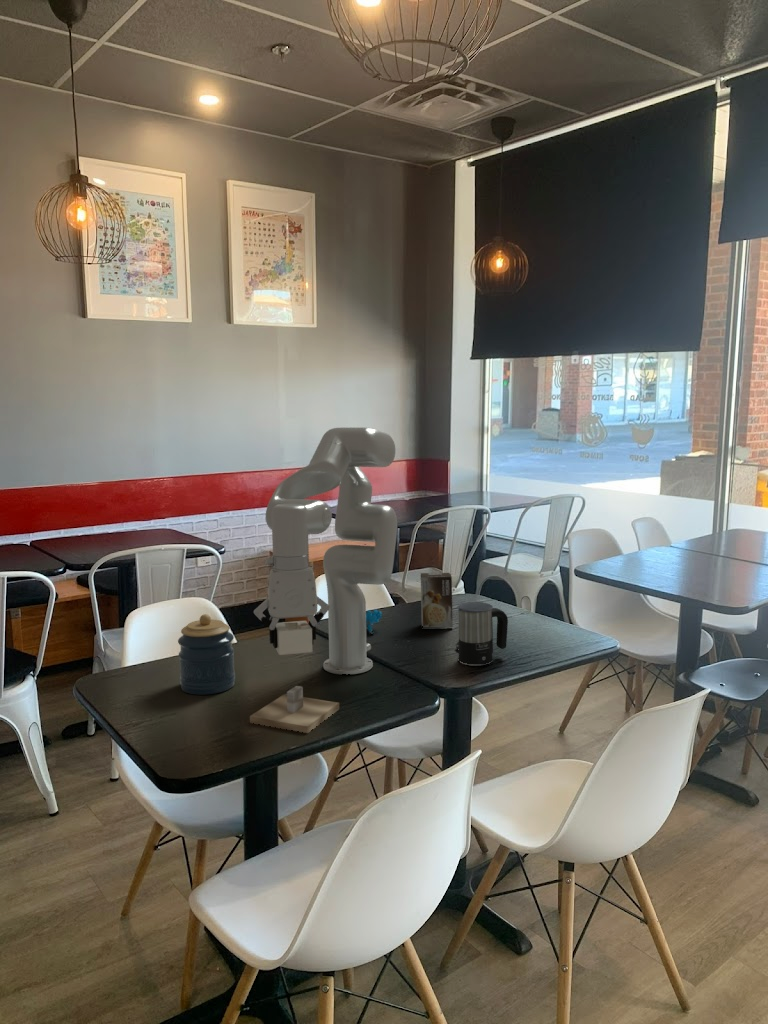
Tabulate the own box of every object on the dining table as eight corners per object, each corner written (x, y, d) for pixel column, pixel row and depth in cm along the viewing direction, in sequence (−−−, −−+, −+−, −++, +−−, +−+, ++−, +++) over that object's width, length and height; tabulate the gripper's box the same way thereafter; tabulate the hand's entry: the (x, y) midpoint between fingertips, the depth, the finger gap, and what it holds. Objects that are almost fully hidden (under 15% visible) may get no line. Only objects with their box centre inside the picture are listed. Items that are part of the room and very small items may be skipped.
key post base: (284, 700, 180) (283, 674, 179) (339, 709, 175) (338, 683, 174) (250, 723, 168) (248, 695, 167) (307, 733, 162) (306, 705, 161)
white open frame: (274, 645, 171) (273, 621, 170) (306, 642, 173) (305, 619, 172) (279, 655, 164) (278, 630, 164) (312, 652, 166) (311, 627, 166)
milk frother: (475, 670, 199) (475, 612, 197) (432, 655, 211) (431, 601, 209) (512, 657, 208) (513, 603, 206) (469, 644, 220) (469, 592, 218)
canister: (216, 698, 182) (213, 624, 180) (169, 692, 186) (165, 619, 184) (245, 680, 194) (242, 610, 192) (200, 674, 198) (197, 605, 196)
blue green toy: (377, 621, 239) (383, 604, 231) (384, 638, 236) (391, 621, 228) (343, 630, 235) (348, 613, 227) (350, 647, 232) (356, 631, 224)
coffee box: (450, 623, 241) (450, 572, 239) (452, 629, 235) (452, 576, 233) (420, 624, 241) (420, 572, 239) (422, 630, 235) (421, 577, 233)
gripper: (251, 568, 161) (254, 653, 163) (335, 563, 165) (336, 646, 167) (247, 562, 168) (249, 643, 170) (327, 557, 172) (329, 636, 175)
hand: (293, 644), depth 169 cm, fingers closed on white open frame, 7 cm apart
